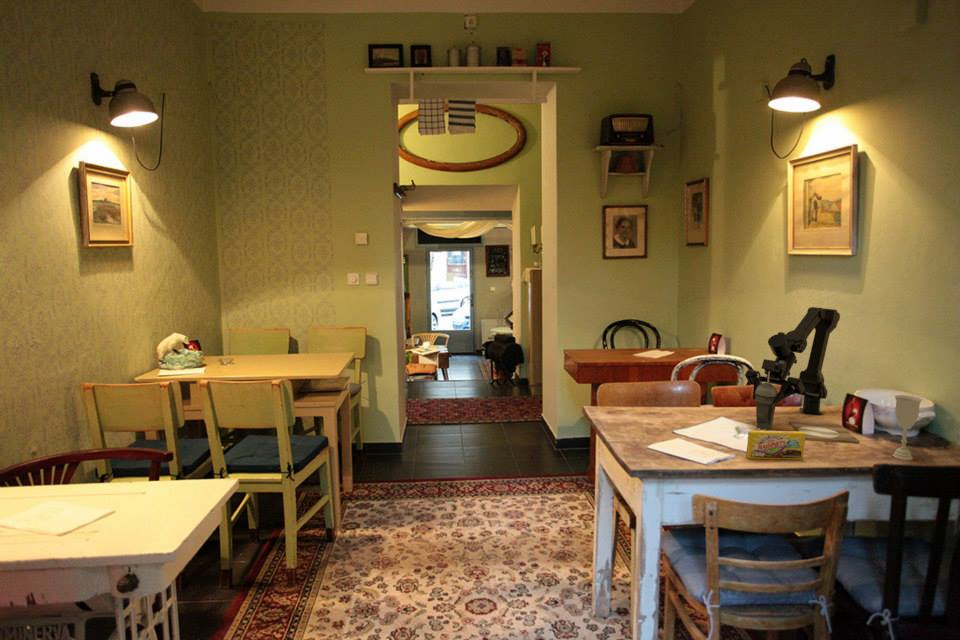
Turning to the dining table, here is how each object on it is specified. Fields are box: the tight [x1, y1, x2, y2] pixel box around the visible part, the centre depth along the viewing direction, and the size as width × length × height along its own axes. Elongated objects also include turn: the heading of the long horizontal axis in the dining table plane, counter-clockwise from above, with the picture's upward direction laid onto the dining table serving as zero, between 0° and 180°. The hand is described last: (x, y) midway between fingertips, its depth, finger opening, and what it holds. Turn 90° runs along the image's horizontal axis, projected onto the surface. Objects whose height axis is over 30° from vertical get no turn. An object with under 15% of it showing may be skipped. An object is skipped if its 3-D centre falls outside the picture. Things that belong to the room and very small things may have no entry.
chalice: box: [892, 394, 923, 461], centre depth 193 cm, size 7×7×18 cm
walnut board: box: [788, 420, 860, 444], centre depth 218 cm, size 20×16×1 cm
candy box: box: [745, 430, 806, 460], centre depth 191 cm, size 16×2×8 cm, turn 90°
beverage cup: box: [755, 371, 779, 431], centre depth 221 cm, size 7×7×20 cm
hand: (764, 401), depth 220 cm, fingers closed on beverage cup, 7 cm apart
